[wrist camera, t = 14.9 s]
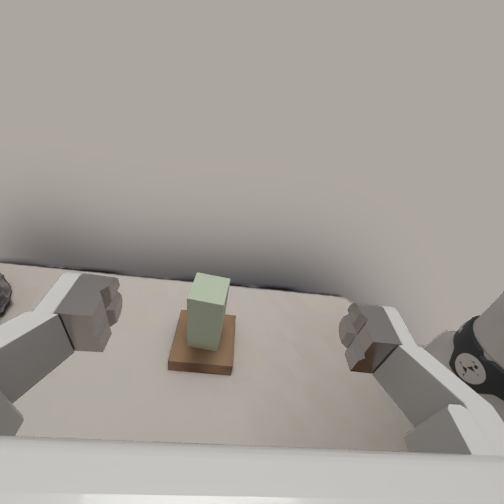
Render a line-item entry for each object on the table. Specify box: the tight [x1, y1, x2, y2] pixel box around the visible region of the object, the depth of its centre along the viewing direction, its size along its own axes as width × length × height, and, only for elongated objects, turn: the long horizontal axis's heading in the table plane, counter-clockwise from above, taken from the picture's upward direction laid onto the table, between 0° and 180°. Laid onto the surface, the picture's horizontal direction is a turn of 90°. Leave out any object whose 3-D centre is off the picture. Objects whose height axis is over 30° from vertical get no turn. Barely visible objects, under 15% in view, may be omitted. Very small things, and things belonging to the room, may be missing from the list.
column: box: [187, 273, 230, 352], centre depth 37 cm, size 4×4×11 cm
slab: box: [168, 310, 236, 375], centre depth 42 cm, size 9×9×3 cm
